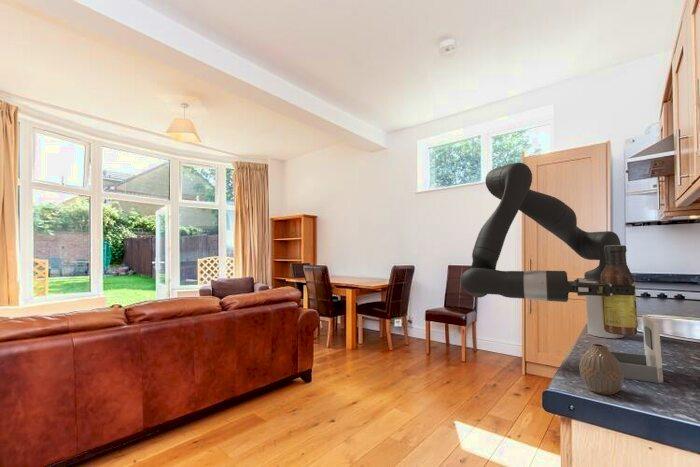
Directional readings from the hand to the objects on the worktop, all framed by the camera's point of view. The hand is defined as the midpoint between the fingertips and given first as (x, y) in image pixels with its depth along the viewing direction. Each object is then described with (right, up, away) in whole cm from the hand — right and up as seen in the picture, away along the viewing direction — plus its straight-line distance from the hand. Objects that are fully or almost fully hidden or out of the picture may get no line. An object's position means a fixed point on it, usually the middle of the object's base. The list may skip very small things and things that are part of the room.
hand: (630, 288), depth 75 cm
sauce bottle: (-2, -10, +1) cm, 11 cm away
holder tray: (-2, -19, 0) cm, 19 cm away
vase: (-14, -18, -10) cm, 25 cm away
